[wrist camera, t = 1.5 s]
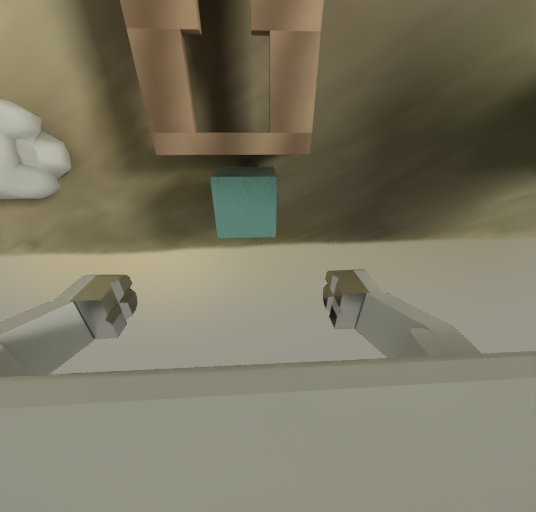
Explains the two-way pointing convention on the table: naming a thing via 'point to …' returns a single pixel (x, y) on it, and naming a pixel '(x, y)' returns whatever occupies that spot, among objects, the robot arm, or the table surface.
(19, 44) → the table surface
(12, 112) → the bottle
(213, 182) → the teal stemmed block
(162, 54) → the tan hollow wooden block
